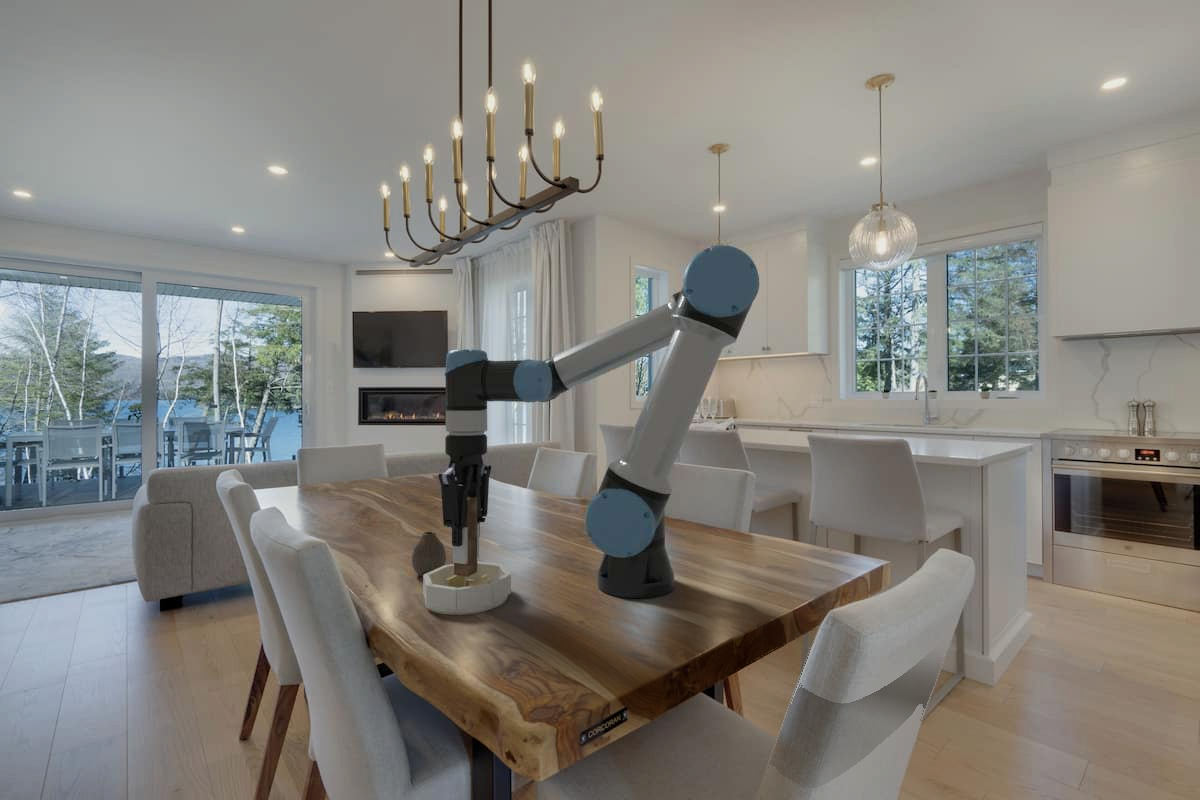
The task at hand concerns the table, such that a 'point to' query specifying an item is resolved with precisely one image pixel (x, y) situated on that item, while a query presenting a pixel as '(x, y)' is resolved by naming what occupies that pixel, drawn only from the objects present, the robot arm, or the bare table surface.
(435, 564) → the vase
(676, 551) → the table surface
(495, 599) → the white octagonal bowl
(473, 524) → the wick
